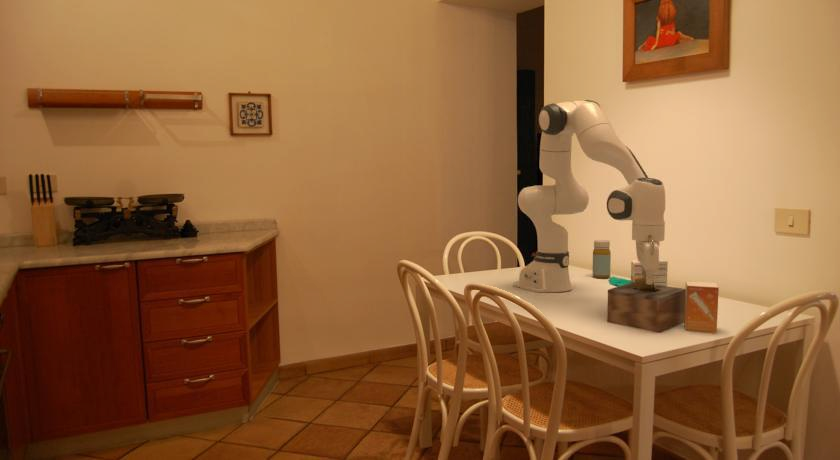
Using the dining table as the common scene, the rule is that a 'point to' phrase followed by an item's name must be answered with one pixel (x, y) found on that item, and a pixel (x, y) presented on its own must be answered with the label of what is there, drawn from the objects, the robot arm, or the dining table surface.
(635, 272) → the syrup box
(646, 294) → the collection bin
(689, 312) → the small box
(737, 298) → the dining table surface
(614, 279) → the cloth
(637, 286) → the upright wooden block
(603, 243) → the bottle
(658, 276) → the supplement box
